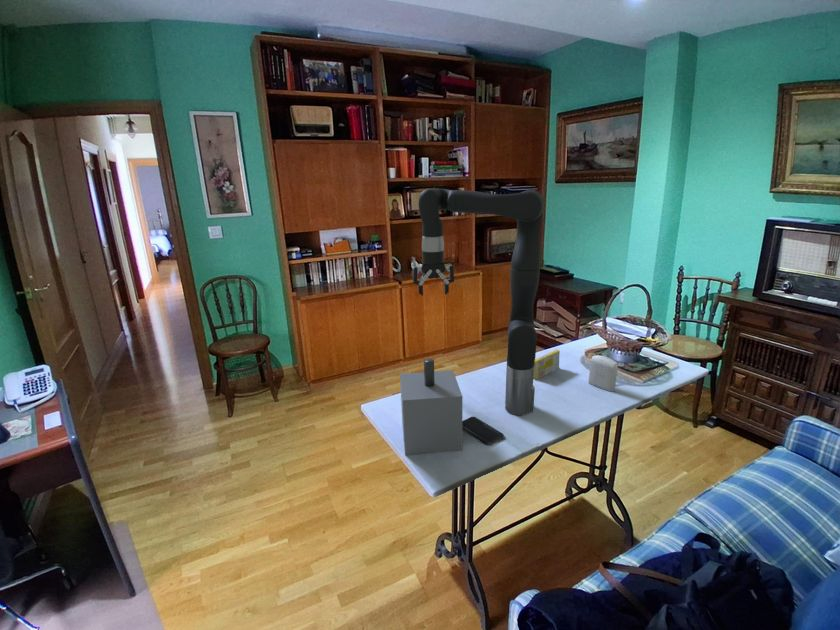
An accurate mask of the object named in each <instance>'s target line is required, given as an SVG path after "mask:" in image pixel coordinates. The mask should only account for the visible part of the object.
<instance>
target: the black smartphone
mask: <svg viewBox="0 0 840 630" xmlns="http://www.w3.org/2000/svg"><path fill="white" fill-rule="evenodd" d="M462 431H463V432H466V434H469V436H471V437H473V438H475V439H476V440H478V441H479V442H480V443H482V444H483V445H485V446H492V445H494V444H495V443H499V441H501V440H503V439H505V434H504V433H502V432H501V431H499V430H497V429H496V428H494V427H493V426H491V425H489V424H488V423H487V422H484V421H482V420H481V419H480V418H478V417H477V416H470V417H469V418H465V419H464V420H462Z"/></svg>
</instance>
